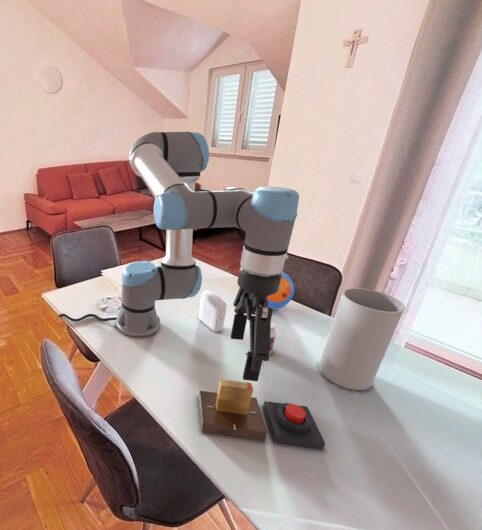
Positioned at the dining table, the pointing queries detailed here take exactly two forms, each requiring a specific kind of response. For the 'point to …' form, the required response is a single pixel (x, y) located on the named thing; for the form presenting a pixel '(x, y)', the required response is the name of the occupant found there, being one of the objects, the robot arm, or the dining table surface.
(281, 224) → the robot arm
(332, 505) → the dining table surface
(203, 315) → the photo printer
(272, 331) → the pill bottle
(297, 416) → the button
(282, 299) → the treat dispenser ball
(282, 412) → the button box
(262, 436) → the panel
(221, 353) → the dining table surface
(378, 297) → the cylinder vase
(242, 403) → the lock handle
